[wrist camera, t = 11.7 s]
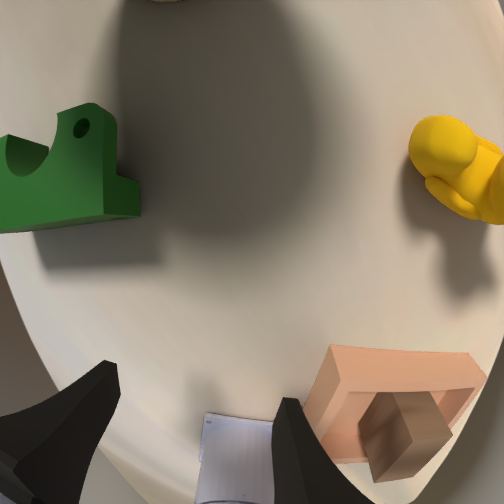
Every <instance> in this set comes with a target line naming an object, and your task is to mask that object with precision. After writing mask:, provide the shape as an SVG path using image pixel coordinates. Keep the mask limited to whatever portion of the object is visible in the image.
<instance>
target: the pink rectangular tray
mask: <svg viewBox="0 0 504 504" xmlns="http://www.w3.org/2000/svg"><path fill="white" fill-rule="evenodd" d="M487 378H488V377H487V376H486V375H485V373H484V372H483V371H482V370H481V368H480V367H479V366H478V364H477V363H476V362H475V361H474V359H473V358H472V357H471V356H470V355H469V353H440V352H414V351H396V350H381V349H369V348H357V347H347V346H337V345H330V347H329V349H328V352H327V354H326V357H325V359H324V362H323V364H322V367H321V369H320V372H319V374H318V376H317V379H316V381H315V383H314V386H313V388H312V390H311V393H310V395H309V397H308V399H307V402H306V404H305V406H304V408H303V412H304V414H305V416H306V418H307V420H308V422H309V424H310V426H311V428H312V430H313V431H314V433H315V435H316V437H317V439H318V440H319V442H320V444H321V445H322V447H323V448H324V450H325V451H326V453H327V454H328V456H329V457H330V459H331V460H332V461H333V463H334V464H347V463H364V462H368V458H367V455H366V451H365V447H364V444H363V440H362V436H361V433H360V429H359V426H358V422H359V421H360V419H361V418H362V416H363V414H364V413H365V411H366V410H367V408H368V407H369V405H370V403H371V402H372V400H373V398H374V397H375V395H376V393H377V392H419V391H429V392H430V393H431V395H432V397H433V399H434V400H435V402H436V404H437V406H438V408H439V410H440V411H441V413H442V415H443V417H444V419H445V421H446V423H447V425H448V426H449V428H450V429H451V428H452V427H453V426H454V424H455V423H456V422H457V421H458V419H459V418H460V417H461V416H462V414H463V413H464V412H465V410H466V409H467V408H468V406H469V405H470V403H471V402H472V401H473V399H474V398H475V396H476V395H477V393H478V392H479V391H480V389H481V388H482V386H483V385H484V383H485V382H486V380H487Z"/></svg>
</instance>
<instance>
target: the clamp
mask: <svg viewBox="0 0 504 504" xmlns="http://www.w3.org/2000/svg"><path fill="white" fill-rule="evenodd" d="M57 117H58V124H57V132H56V136H55V139H54V143H53V145H52V148H51V150H50V152H49V154H48V148H49V147H48V146H45V145H41V144H38V143H35V142H32V141H29V140H26V139H22V138H19V137H16V136H13V135H9V134H8V135H6V136H3V137H1V138H0V234H2V233H18V232H29V231H37V230H44V229H51V228H58V227H65V226H72V225H80V224H88V223H96V222H104V221H112V220H121V219H130V218H137V217H141V211H140V184H139V182H138V181H135V180H132V179H129V178H125V177H122V176H119V175H116V141H117V123H116V120H115V118H114V116H113V115H112V114H110V113H109V112H107V111H106V110H105V109H103V108H102V107H100V106H99V105H97V104H95V103H86V104H82V105H79V106H76V107H73V108H71V109H68V110H65V111H62V112H59V113H57Z"/></svg>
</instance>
